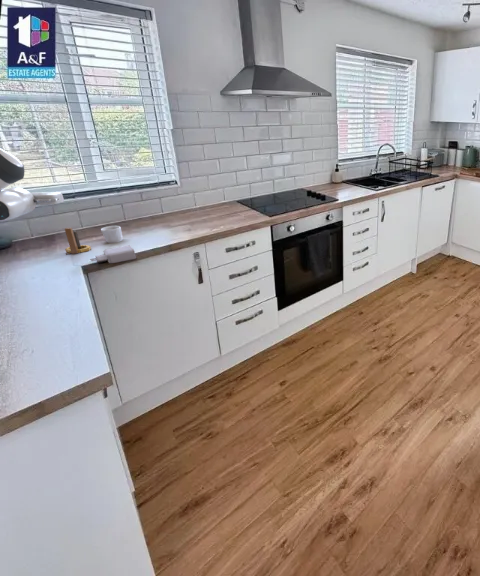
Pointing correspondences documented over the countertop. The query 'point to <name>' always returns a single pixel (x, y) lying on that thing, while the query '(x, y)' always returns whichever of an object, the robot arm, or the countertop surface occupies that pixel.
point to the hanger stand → (76, 242)
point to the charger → (116, 254)
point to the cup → (112, 234)
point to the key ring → (74, 243)
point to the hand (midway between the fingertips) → (35, 195)
